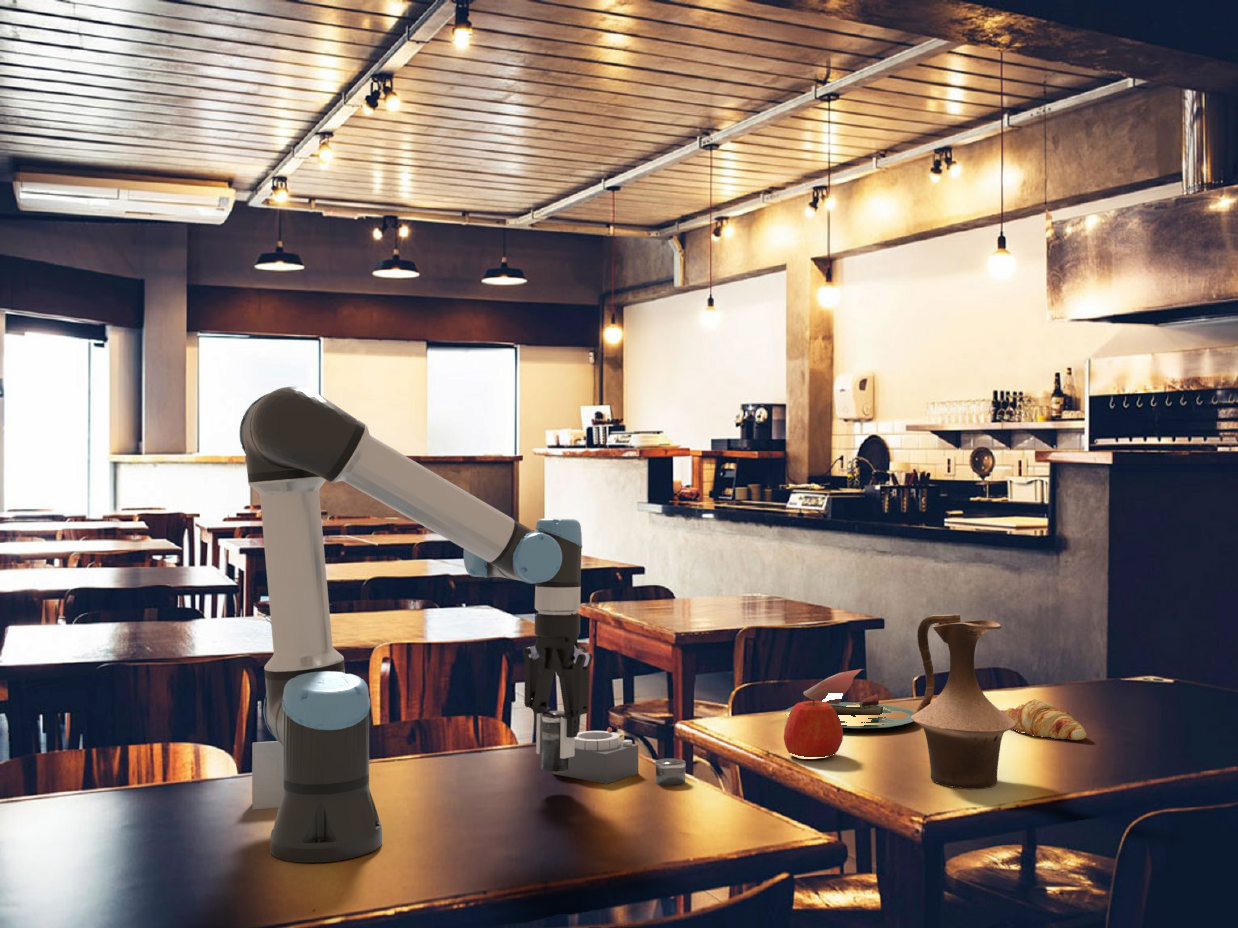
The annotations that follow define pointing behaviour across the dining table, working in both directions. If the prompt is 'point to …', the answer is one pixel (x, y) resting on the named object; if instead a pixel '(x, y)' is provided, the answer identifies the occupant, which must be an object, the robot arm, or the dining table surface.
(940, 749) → the pitcher
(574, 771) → the camera body
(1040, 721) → the croissant
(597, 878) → the dining table surface
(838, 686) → the plate
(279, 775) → the light grey rectangular block
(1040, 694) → the dining table surface
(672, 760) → the cylinder
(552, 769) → the lens
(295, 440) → the robot arm
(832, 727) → the apple
